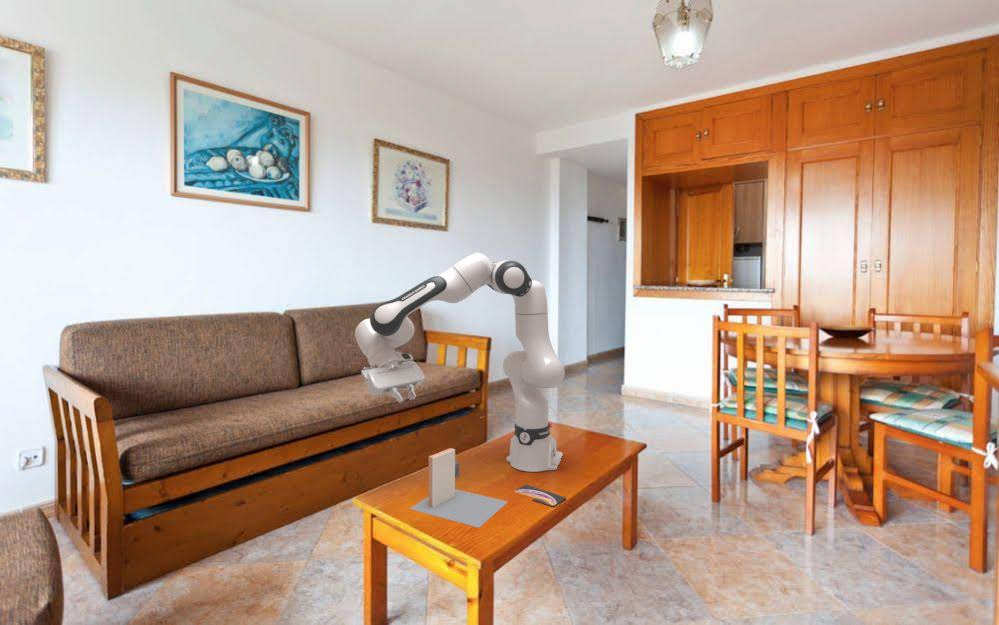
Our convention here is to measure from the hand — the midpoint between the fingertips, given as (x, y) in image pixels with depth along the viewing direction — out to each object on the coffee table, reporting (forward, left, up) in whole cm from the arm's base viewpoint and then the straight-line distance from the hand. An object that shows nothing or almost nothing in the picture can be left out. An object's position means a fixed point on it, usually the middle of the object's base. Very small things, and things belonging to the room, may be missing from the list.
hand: (407, 399), depth 150 cm
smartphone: (-14, +37, -28) cm, 49 cm away
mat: (+3, +20, -27) cm, 34 cm away
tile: (+3, +14, -27) cm, 31 cm away
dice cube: (-12, +7, -28) cm, 31 cm away
